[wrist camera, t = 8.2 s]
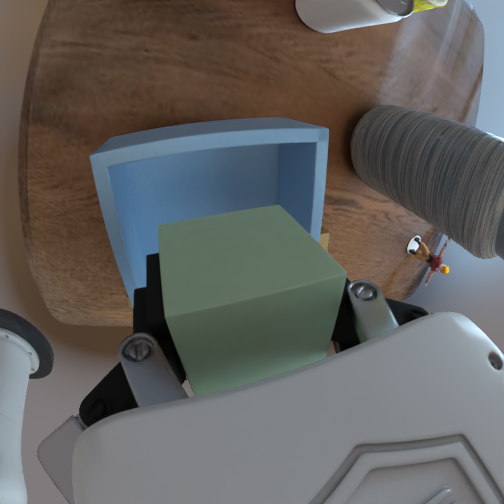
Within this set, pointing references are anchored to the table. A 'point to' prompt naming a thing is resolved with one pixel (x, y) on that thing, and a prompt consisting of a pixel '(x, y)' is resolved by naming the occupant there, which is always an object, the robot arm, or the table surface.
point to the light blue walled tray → (206, 180)
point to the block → (246, 296)
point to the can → (351, 13)
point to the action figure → (428, 256)
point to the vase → (436, 173)
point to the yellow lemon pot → (428, 4)
